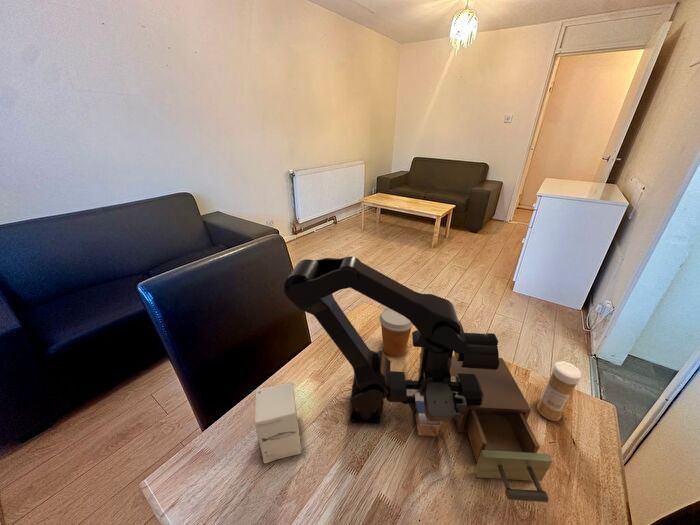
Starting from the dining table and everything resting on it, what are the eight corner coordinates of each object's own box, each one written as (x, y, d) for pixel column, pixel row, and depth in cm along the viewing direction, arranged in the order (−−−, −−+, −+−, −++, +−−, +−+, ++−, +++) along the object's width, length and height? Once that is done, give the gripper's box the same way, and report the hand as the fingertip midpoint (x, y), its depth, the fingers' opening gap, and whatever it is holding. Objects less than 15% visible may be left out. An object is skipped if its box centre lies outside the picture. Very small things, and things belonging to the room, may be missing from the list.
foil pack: (437, 436, 59) (440, 425, 57) (417, 435, 59) (419, 424, 58) (430, 402, 66) (432, 391, 64) (412, 401, 66) (414, 390, 65)
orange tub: (415, 344, 83) (420, 311, 78) (403, 366, 76) (407, 331, 70) (386, 333, 88) (388, 300, 82) (371, 352, 80) (373, 318, 75)
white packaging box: (263, 465, 54) (252, 423, 48) (263, 428, 61) (254, 388, 55) (302, 455, 56) (296, 413, 50) (298, 420, 62) (292, 379, 57)
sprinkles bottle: (564, 414, 63) (586, 371, 57) (554, 425, 61) (576, 381, 55) (542, 399, 67) (561, 357, 61) (532, 409, 64) (550, 366, 58)
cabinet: (520, 435, 59) (531, 410, 55) (458, 432, 60) (465, 406, 56) (494, 381, 71) (502, 357, 68) (443, 379, 72) (448, 355, 68)
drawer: (557, 515, 46) (571, 495, 44) (486, 510, 47) (495, 490, 44) (510, 416, 62) (518, 396, 59) (457, 413, 63) (462, 394, 60)
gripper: (388, 394, 48) (386, 450, 55) (502, 399, 47) (485, 455, 54) (386, 348, 58) (384, 399, 65) (479, 350, 57) (468, 403, 64)
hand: (428, 414), depth 62 cm, fingers open, 6 cm apart
